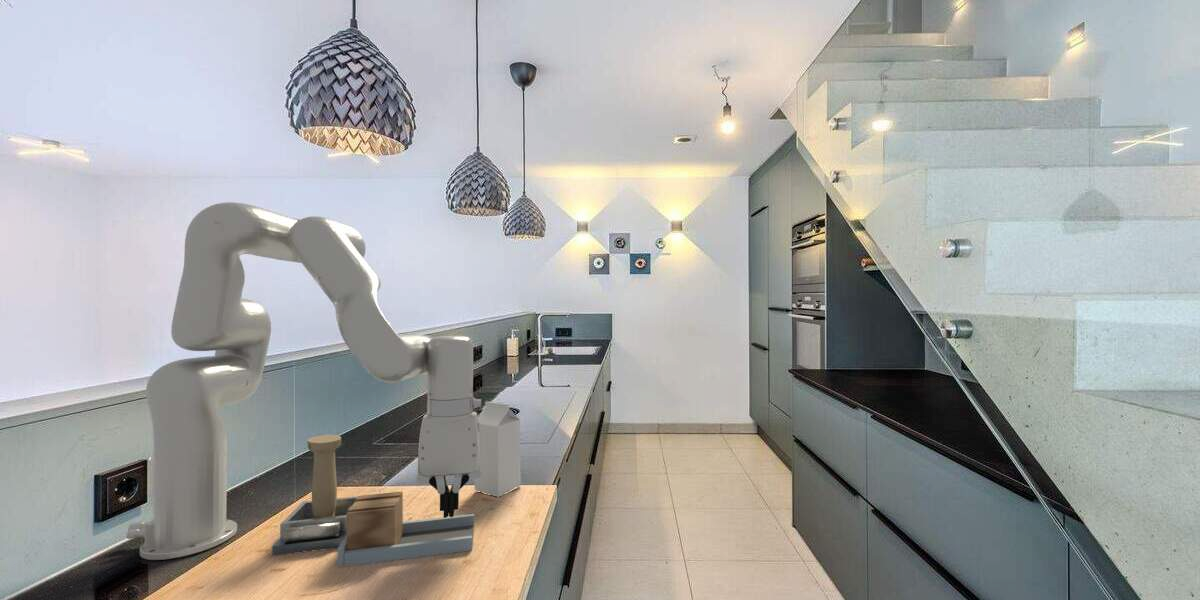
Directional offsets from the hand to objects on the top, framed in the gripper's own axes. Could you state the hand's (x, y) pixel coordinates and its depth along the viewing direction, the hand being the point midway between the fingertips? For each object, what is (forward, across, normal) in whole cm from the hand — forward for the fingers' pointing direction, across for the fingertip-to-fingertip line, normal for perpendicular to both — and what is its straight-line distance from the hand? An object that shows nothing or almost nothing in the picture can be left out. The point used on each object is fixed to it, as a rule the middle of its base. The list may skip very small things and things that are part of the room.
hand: (449, 513), depth 80 cm
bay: (+4, +5, 0) cm, 7 cm away
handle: (+3, +22, -9) cm, 24 cm away
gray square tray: (+5, +22, -7) cm, 24 cm away
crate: (+4, +12, 0) cm, 12 cm away
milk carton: (+4, -8, -20) cm, 23 cm away
